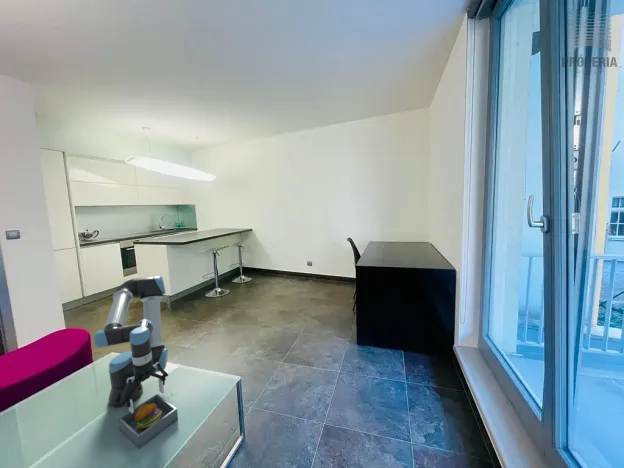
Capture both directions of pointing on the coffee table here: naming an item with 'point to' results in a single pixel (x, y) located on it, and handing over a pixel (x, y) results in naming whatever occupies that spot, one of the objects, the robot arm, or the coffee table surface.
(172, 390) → the coffee table surface
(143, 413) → the cheeseburger
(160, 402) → the bin
